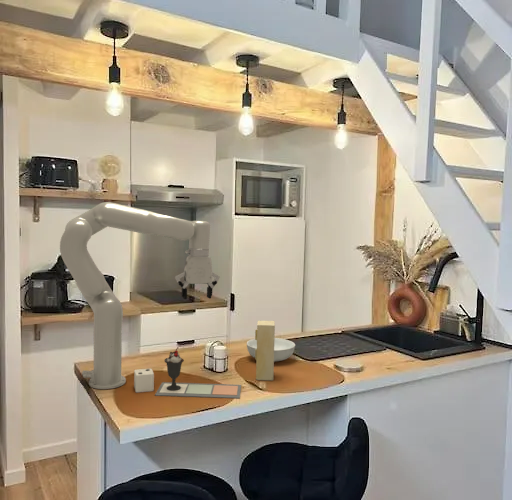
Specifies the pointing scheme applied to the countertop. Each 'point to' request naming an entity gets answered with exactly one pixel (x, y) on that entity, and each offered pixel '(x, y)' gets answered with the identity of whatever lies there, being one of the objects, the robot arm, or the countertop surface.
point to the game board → (201, 390)
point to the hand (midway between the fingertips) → (196, 298)
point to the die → (143, 380)
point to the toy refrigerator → (265, 350)
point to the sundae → (174, 369)
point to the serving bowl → (275, 348)
